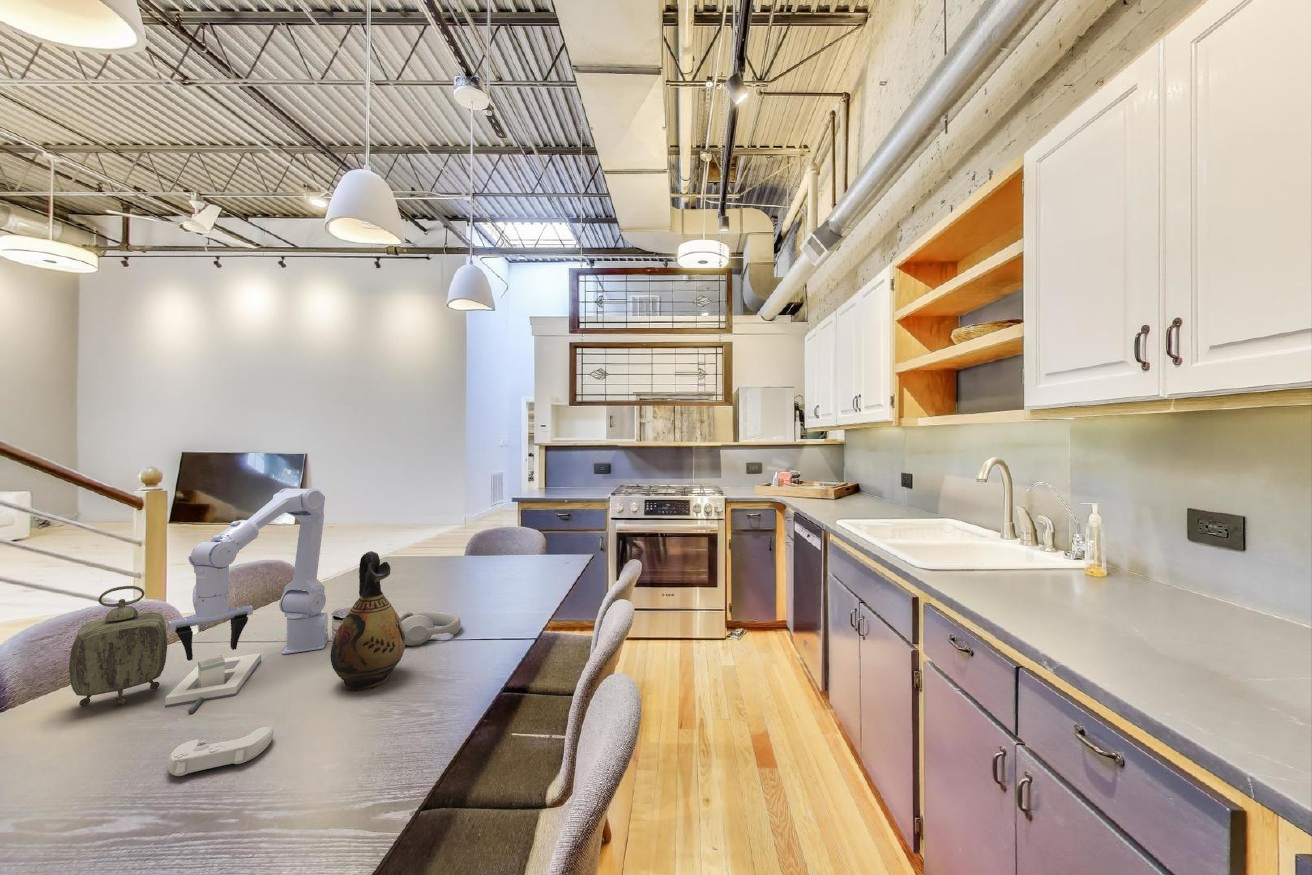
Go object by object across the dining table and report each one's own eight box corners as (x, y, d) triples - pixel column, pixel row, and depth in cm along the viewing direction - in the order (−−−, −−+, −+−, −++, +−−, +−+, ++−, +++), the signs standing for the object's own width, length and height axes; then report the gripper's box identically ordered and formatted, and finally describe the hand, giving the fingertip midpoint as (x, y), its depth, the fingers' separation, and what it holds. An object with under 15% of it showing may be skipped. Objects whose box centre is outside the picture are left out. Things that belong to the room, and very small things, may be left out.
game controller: (278, 719, 98) (263, 734, 89) (276, 744, 97) (261, 762, 88) (181, 737, 92) (155, 755, 83) (178, 763, 91) (152, 785, 82)
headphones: (409, 652, 135) (471, 638, 152) (413, 622, 137) (474, 611, 153) (371, 638, 145) (433, 627, 162) (375, 610, 146) (436, 602, 163)
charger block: (221, 680, 119) (221, 655, 119) (224, 686, 117) (224, 659, 117) (197, 687, 116) (198, 660, 116) (200, 692, 114) (201, 665, 114)
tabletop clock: (166, 684, 119) (167, 576, 119) (166, 697, 112) (168, 584, 113) (72, 706, 109) (74, 589, 109) (66, 722, 102) (69, 598, 103)
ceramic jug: (415, 680, 121) (416, 553, 121) (342, 704, 109) (343, 564, 110) (389, 659, 132) (389, 544, 133) (320, 679, 121) (321, 553, 121)
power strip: (260, 661, 131) (260, 652, 131) (226, 707, 108) (226, 697, 108) (201, 669, 126) (201, 661, 126) (151, 721, 103) (152, 710, 103)
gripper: (247, 584, 125) (247, 639, 124) (166, 598, 113) (165, 659, 113) (255, 589, 120) (255, 647, 120) (171, 604, 109) (170, 668, 109)
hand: (212, 653), depth 116 cm, fingers open, 7 cm apart
